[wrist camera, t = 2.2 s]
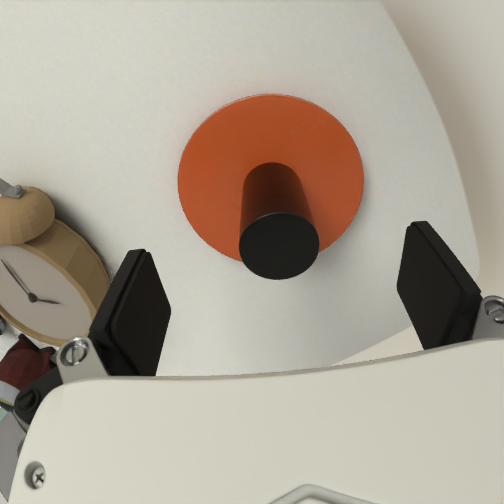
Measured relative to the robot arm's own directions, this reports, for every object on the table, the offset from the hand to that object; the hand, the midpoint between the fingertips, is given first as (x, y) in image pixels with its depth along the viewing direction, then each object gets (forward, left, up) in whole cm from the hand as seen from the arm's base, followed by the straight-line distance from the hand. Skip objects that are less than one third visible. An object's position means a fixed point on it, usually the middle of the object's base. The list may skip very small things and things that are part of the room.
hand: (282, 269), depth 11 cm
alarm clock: (+2, -18, -8) cm, 19 cm away
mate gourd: (+15, -27, -8) cm, 31 cm away
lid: (0, 0, -7) cm, 7 cm away
